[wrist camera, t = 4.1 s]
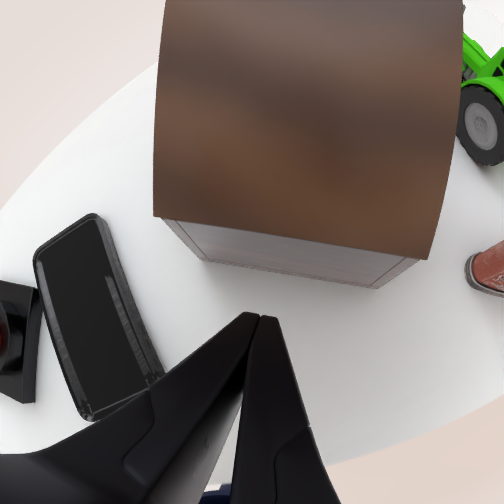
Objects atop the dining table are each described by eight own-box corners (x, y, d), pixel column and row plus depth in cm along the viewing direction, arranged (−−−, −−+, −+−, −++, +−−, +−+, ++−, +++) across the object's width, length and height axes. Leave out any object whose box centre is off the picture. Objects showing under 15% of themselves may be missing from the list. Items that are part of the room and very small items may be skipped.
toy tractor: (457, 53, 27) (482, -8, 17) (544, 162, 22) (594, 111, 13) (392, 64, 27) (413, -13, 17) (491, 194, 22) (555, 131, 12)
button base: (35, 402, 21) (8, 405, 18) (-10, 379, 22) (-35, 379, 18) (45, 291, 24) (19, 282, 20) (0, 281, 24) (-25, 272, 21)
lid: (177, -26, 10) (170, -32, 10) (456, 3, 9) (462, -2, 8) (160, 211, 15) (153, 217, 15) (422, 253, 14) (427, 260, 13)
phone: (84, 425, 19) (30, 253, 23) (91, 422, 20) (38, 256, 24) (169, 392, 19) (98, 206, 24) (174, 390, 20) (104, 212, 25)
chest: (234, 126, 26) (217, 58, 18) (385, 148, 24) (412, 83, 17) (199, 259, 23) (160, 217, 16) (377, 289, 21) (421, 259, 14)
